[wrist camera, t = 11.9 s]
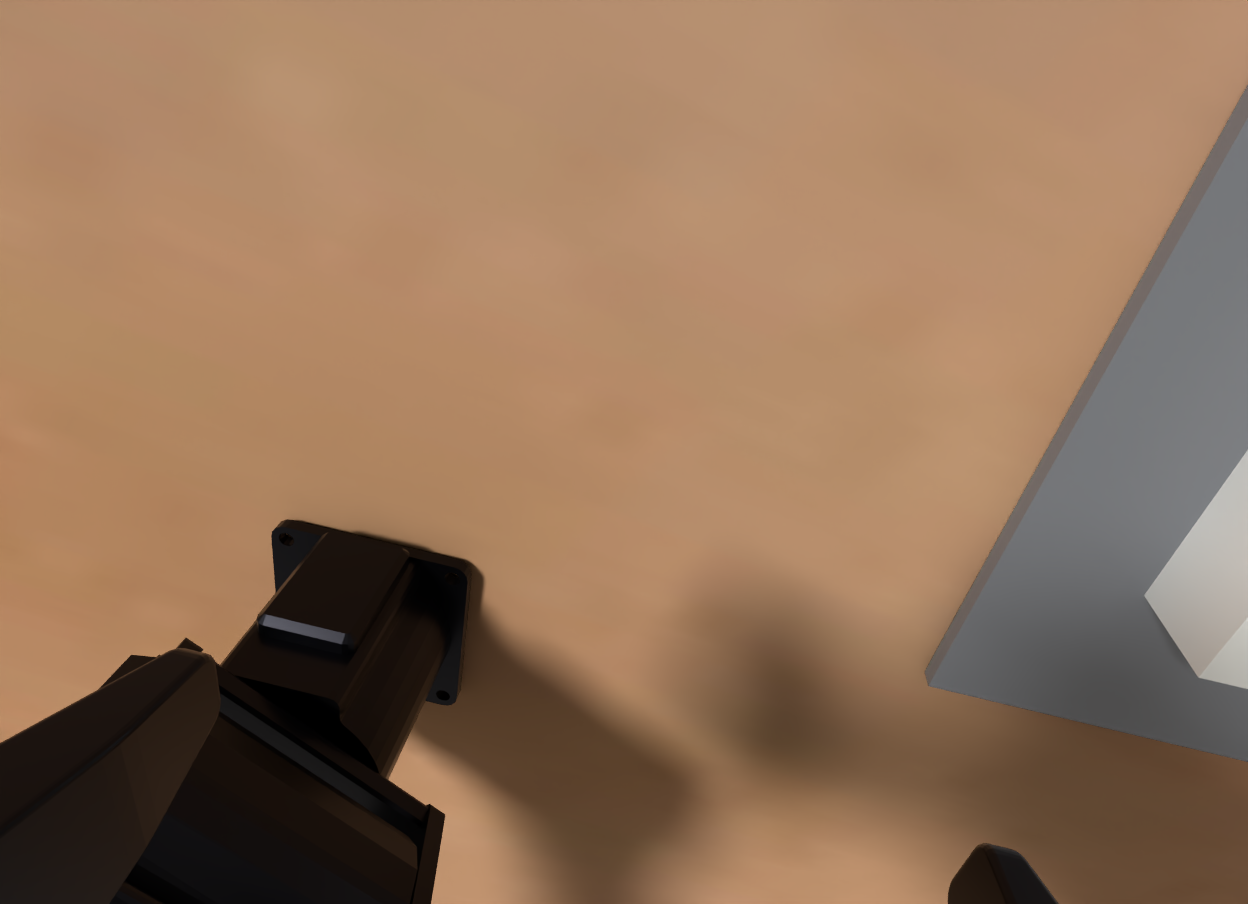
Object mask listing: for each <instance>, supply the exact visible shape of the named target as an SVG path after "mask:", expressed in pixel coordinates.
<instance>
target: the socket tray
mask: <svg viewBox="0 0 1248 904" xmlns="http://www.w3.org/2000/svg"><path fill="white" fill-rule="evenodd" d="M925 675H926V679H927V683H928V686H930V687H935V688H939V689H943V690H947V691H951V692H956V693H960V694H964V695H968V696H972V697H977V698H981V699H985V700H989V701H993V702H998V703H1002V704H1006V705H1010V706H1015V707H1019V708H1023V709H1027V710H1031V711H1036V712H1040V713H1044V714H1048V715H1052V716H1057V717H1061V718H1065V719H1069V720H1073V721H1078V722H1082V723H1086V724H1090V725H1095V726H1099V727H1103V728H1107V729H1111V730H1116V731H1120V732H1124V733H1128V734H1132V735H1137V736H1141V737H1145V738H1149V739H1154V740H1158V741H1162V742H1166V743H1170V744H1175V745H1179V746H1183V747H1187V748H1191V749H1196V750H1200V751H1204V752H1208V753H1212V754H1217V755H1221V756H1225V757H1229V758H1234V759H1238V760H1242V761H1246V762H1248V85H1247V87H1246V89H1245V91H1244V93H1243V94H1242V96H1241V98H1240V100H1239V102H1238V103H1237V105H1236V107H1235V109H1234V111H1233V112H1232V114H1231V116H1230V118H1229V120H1228V122H1227V123H1226V125H1225V127H1224V129H1223V131H1222V132H1221V134H1220V136H1219V138H1218V140H1217V142H1216V143H1215V145H1214V147H1213V149H1212V151H1211V152H1210V154H1209V156H1208V158H1207V160H1206V162H1205V163H1204V165H1203V167H1202V169H1201V171H1200V172H1199V174H1198V176H1197V178H1196V180H1195V181H1194V183H1193V185H1192V187H1191V189H1190V191H1189V192H1188V194H1187V196H1186V198H1185V200H1184V201H1183V203H1182V205H1181V207H1180V209H1179V211H1178V212H1177V214H1176V216H1175V218H1174V220H1173V221H1172V223H1171V225H1170V227H1169V229H1168V231H1167V232H1166V234H1165V236H1164V238H1163V240H1162V241H1161V243H1160V245H1159V247H1158V249H1157V250H1156V252H1155V254H1154V256H1153V258H1152V260H1151V261H1150V263H1149V265H1148V267H1147V269H1146V270H1145V272H1144V274H1143V276H1142V278H1141V280H1140V281H1139V283H1138V285H1137V287H1136V289H1135V290H1134V292H1133V294H1132V296H1131V298H1130V300H1129V301H1128V303H1127V305H1126V307H1125V309H1124V310H1123V312H1122V314H1121V316H1120V318H1119V320H1118V321H1117V323H1116V325H1115V327H1114V329H1113V330H1112V332H1111V334H1110V336H1109V338H1108V339H1107V341H1106V343H1105V345H1104V347H1103V349H1102V350H1101V352H1100V354H1099V356H1098V358H1097V359H1096V361H1095V363H1094V365H1093V367H1092V369H1091V370H1090V372H1089V374H1088V376H1087V378H1086V379H1085V381H1084V383H1083V385H1082V387H1081V389H1080V390H1079V392H1078V394H1077V396H1076V398H1075V399H1074V401H1073V403H1072V405H1071V407H1070V408H1069V410H1068V412H1067V414H1066V416H1065V418H1064V419H1063V421H1062V423H1061V425H1060V427H1059V428H1058V430H1057V432H1056V434H1055V436H1054V438H1053V439H1052V441H1051V443H1050V445H1049V447H1048V448H1047V450H1046V452H1045V454H1044V456H1043V458H1042V459H1041V461H1040V463H1039V465H1038V467H1037V468H1036V470H1035V472H1034V474H1033V476H1032V477H1031V479H1030V481H1029V483H1028V485H1027V487H1026V488H1025V490H1024V492H1023V494H1022V496H1021V497H1020V499H1019V501H1018V503H1017V505H1016V507H1015V508H1014V510H1013V512H1012V514H1011V516H1010V517H1009V519H1008V521H1007V523H1006V525H1005V527H1004V528H1003V530H1002V532H1001V534H1000V536H999V537H998V539H997V541H996V543H995V545H994V547H993V548H992V550H991V552H990V554H989V556H988V557H987V559H986V561H985V563H984V565H983V566H982V568H981V570H980V572H979V574H978V576H977V577H976V579H975V581H974V583H973V585H972V586H971V588H970V590H969V592H968V594H967V596H966V597H965V599H964V601H963V603H962V605H961V606H960V608H959V610H958V612H957V614H956V616H955V617H954V619H953V621H952V623H951V625H950V626H949V628H948V630H947V632H946V634H945V635H944V637H943V639H942V641H941V643H940V645H939V646H938V648H937V650H936V652H935V654H934V655H933V657H932V659H931V661H930V663H929V665H928V666H927V668H926V670H925Z"/></svg>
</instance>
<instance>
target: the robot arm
mask: <svg viewBox="0 0 1248 904" xmlns="http://www.w3.org/2000/svg"><path fill="white" fill-rule="evenodd" d="M286 533H287V534H289V535H290V536H291V537H292V538H291V537H289V536H288V535H287V534H286ZM271 537H272V550H273V563H274V575H275V588H276V593H275V595H274V596H273V597H272V598H271V600H270V601H269V602H268V603H267V604H266V606H265V607H264V608H263V609H262V611H261V612H260V613H259V614H258V616H257V619H256V621H255V622H254V623H253V625H252V626H251V627H250V628H249V630H248V631H247V632H246V633H245V635H244V636H243V637H242V638H241V640H240V641H239V642H238V643H237V645H236V646H235V647H234V648H233V650H232V651H231V652H230V653H229V654H228V656H227V657H226V658H225V659H224V661H223V662H222V663H221V664H220V665H219V664H217V663H216V662H215V660H214V659H213V657H212V656H211V655H209V654H206V653H202V651H203V649H202V648H201V647H199V646H198V645H196V644H195V643H193V642H192V641H190V640H189V639H188V638H185V639H184V640H183V641H182V642H181V643H180V645H179V646H178V647H177V648H176V649H174V650H171V651H168V652H166V653H165V654H163V655H158V656H157V657H148V656H138V655H131V656H130V657H129V658H128V659H127V660H126V661H125V662H124V663H123V664H122V665H121V666H120V667H119V668H118V669H117V670H116V672H115V673H114V674H113V675H112V676H111V677H110V678H109V679H108V680H107V681H106V682H105V683H104V684H103V685H102V686H101V687H100V688H99V689H98V690H97V691H95V692H93V693H91V694H89V695H88V696H86V697H84V698H82V699H80V700H78V701H77V702H75V703H73V704H71V705H69V706H67V707H66V708H64V709H62V710H60V711H58V712H56V713H55V714H53V715H51V716H49V717H47V718H45V719H44V720H42V721H40V722H38V723H36V724H34V725H33V726H31V727H29V728H27V729H25V730H23V731H22V732H20V733H18V734H16V735H14V736H12V737H11V738H9V739H7V740H5V741H3V742H1V743H0V904H431V900H432V893H433V887H434V881H435V875H436V869H437V863H438V857H439V850H440V844H441V838H442V832H443V826H444V820H445V814H444V813H442V812H441V811H439V810H438V809H436V808H435V807H433V806H432V805H430V804H428V805H424V804H423V803H421V802H420V801H418V800H417V799H416V798H414V797H413V796H411V795H410V794H408V793H407V792H405V791H404V790H402V789H401V788H399V787H398V786H396V785H395V784H394V783H392V782H391V781H389V780H388V779H389V777H390V774H391V772H392V770H393V768H394V766H395V764H396V762H397V760H398V757H399V755H400V753H401V751H402V749H403V747H404V745H405V742H406V740H407V738H408V736H409V734H410V732H411V730H412V728H413V725H414V723H415V721H416V719H417V717H418V715H419V713H420V710H421V708H422V706H423V704H424V702H425V701H428V702H433V703H437V704H441V705H452V704H453V703H455V702H456V699H457V697H458V694H459V692H460V688H461V678H462V668H463V657H464V647H465V637H466V627H467V617H468V607H469V596H470V586H471V576H472V574H471V569H470V568H469V566H468V565H467V564H466V563H465V562H463V561H461V560H458V559H454V558H450V557H446V556H442V555H437V554H433V553H429V552H425V551H421V550H416V549H412V548H408V547H404V546H399V545H395V544H391V543H387V542H383V541H378V540H374V539H370V538H366V537H361V536H357V535H353V534H349V533H345V532H340V531H336V530H332V529H328V528H323V527H319V526H315V525H311V524H307V523H302V522H298V521H294V520H284V521H281V523H280V524H279V525H278V526H277V527H276V528H275V529H274V530H273V531H272V536H271ZM450 573H454V574H457V575H458V576H459V577H455V576H452V575H451V574H450ZM948 904H1058V902H1057V901H1056V900H1055V898H1054V897H1053V896H1052V894H1051V893H1050V892H1049V890H1048V889H1047V888H1046V886H1045V885H1044V884H1043V882H1042V881H1041V879H1040V878H1039V877H1038V875H1037V874H1036V873H1035V871H1034V870H1033V869H1032V867H1031V866H1030V865H1029V863H1028V862H1027V861H1026V859H1025V858H1024V857H1023V856H1022V855H1021V854H1019V853H1018V852H1016V851H1014V850H1012V849H1008V848H1004V847H1000V846H996V845H991V844H987V843H983V844H980V845H978V846H977V847H976V848H975V849H974V850H973V852H972V853H971V854H970V856H969V857H968V859H967V860H966V861H965V863H964V864H963V865H962V867H961V868H960V870H959V871H958V872H957V874H956V875H955V877H954V878H953V880H952V882H951V884H950V887H949V892H948Z"/></svg>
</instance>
